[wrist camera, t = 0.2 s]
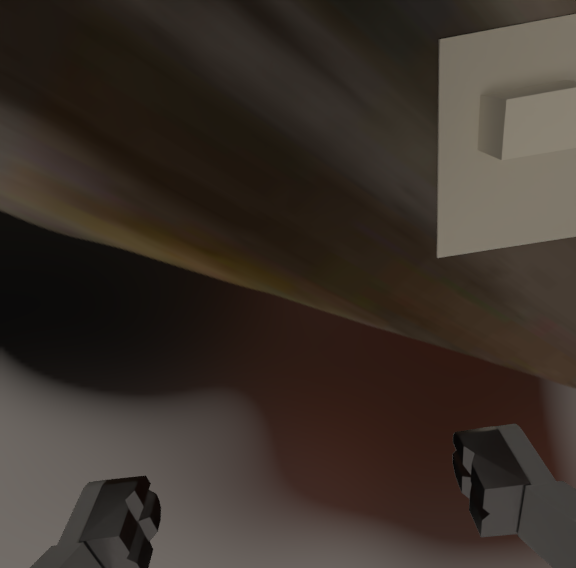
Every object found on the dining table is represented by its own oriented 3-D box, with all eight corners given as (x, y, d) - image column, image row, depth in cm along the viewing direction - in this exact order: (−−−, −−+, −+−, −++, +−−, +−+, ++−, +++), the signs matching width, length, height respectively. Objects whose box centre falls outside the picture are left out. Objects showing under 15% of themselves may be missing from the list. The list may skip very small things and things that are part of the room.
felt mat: (438, 39, 47) (439, 39, 47) (617, 5, 46) (620, 5, 46) (436, 256, 60) (437, 257, 60) (575, 235, 59) (577, 236, 59)
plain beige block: (480, 95, 50) (506, 99, 44) (564, 80, 49) (602, 82, 43) (477, 149, 53) (501, 160, 47) (556, 136, 52) (590, 145, 46)
